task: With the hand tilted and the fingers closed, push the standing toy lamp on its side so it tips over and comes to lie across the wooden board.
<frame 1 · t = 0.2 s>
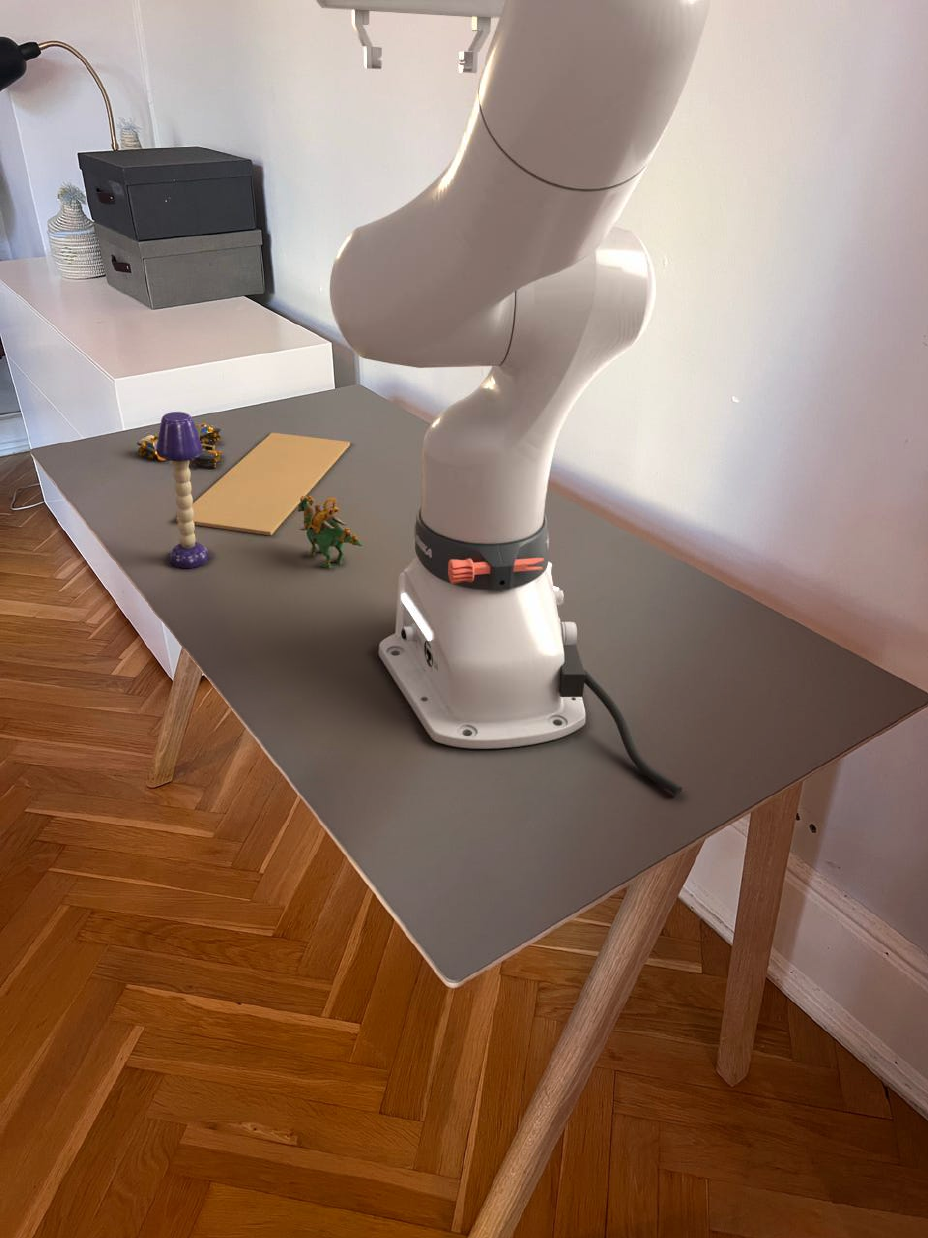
hand: (420, 70, 89), 48 cm above the table, tool pointing down, fingers open, 8 cm apart
toy set: (197, 452, 128), on the table
wooden board: (271, 480, 121), on the table
figurine: (330, 564, 102), on the table
toy lamp: (193, 561, 102), on the table
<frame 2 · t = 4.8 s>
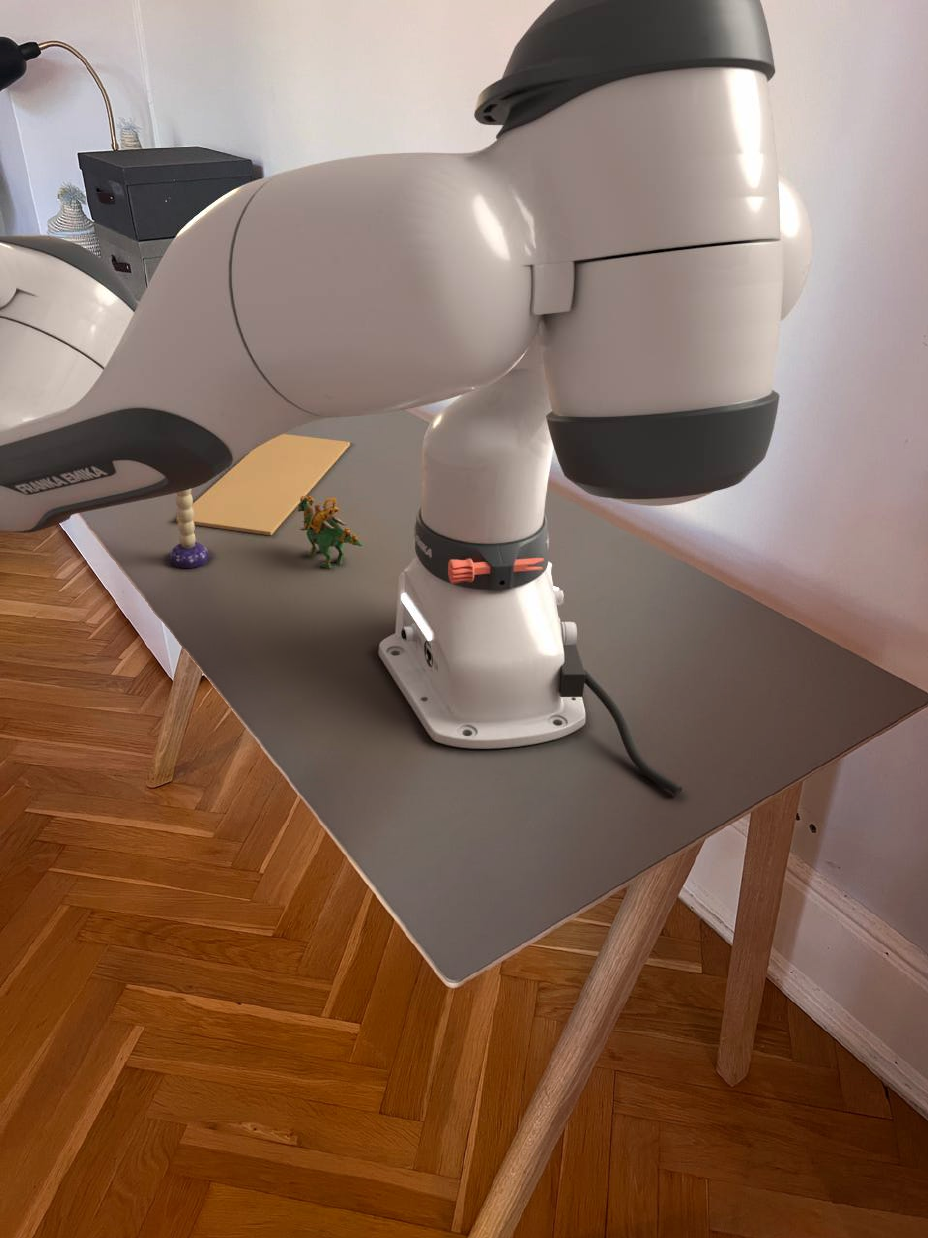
hand: (107, 452, 82), 18 cm above the table, tool tilted 45°, fingers closed
nothing on the table moved.
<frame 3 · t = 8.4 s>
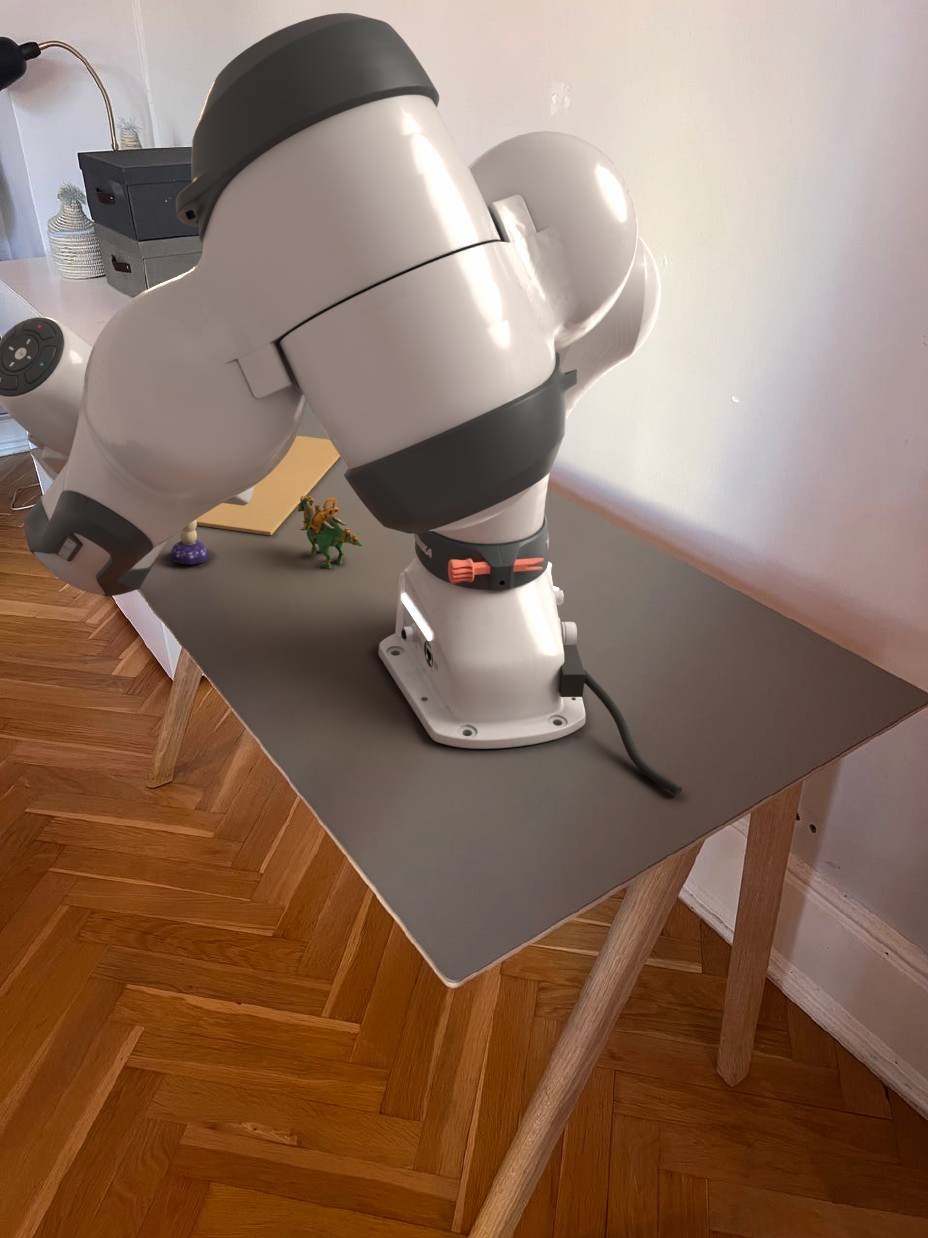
hand: (182, 496, 97), 8 cm above the table, tool tilted 45°, fingers closed
toy lamp: (192, 559, 102), on the table, touching gripper
everything else where it was.
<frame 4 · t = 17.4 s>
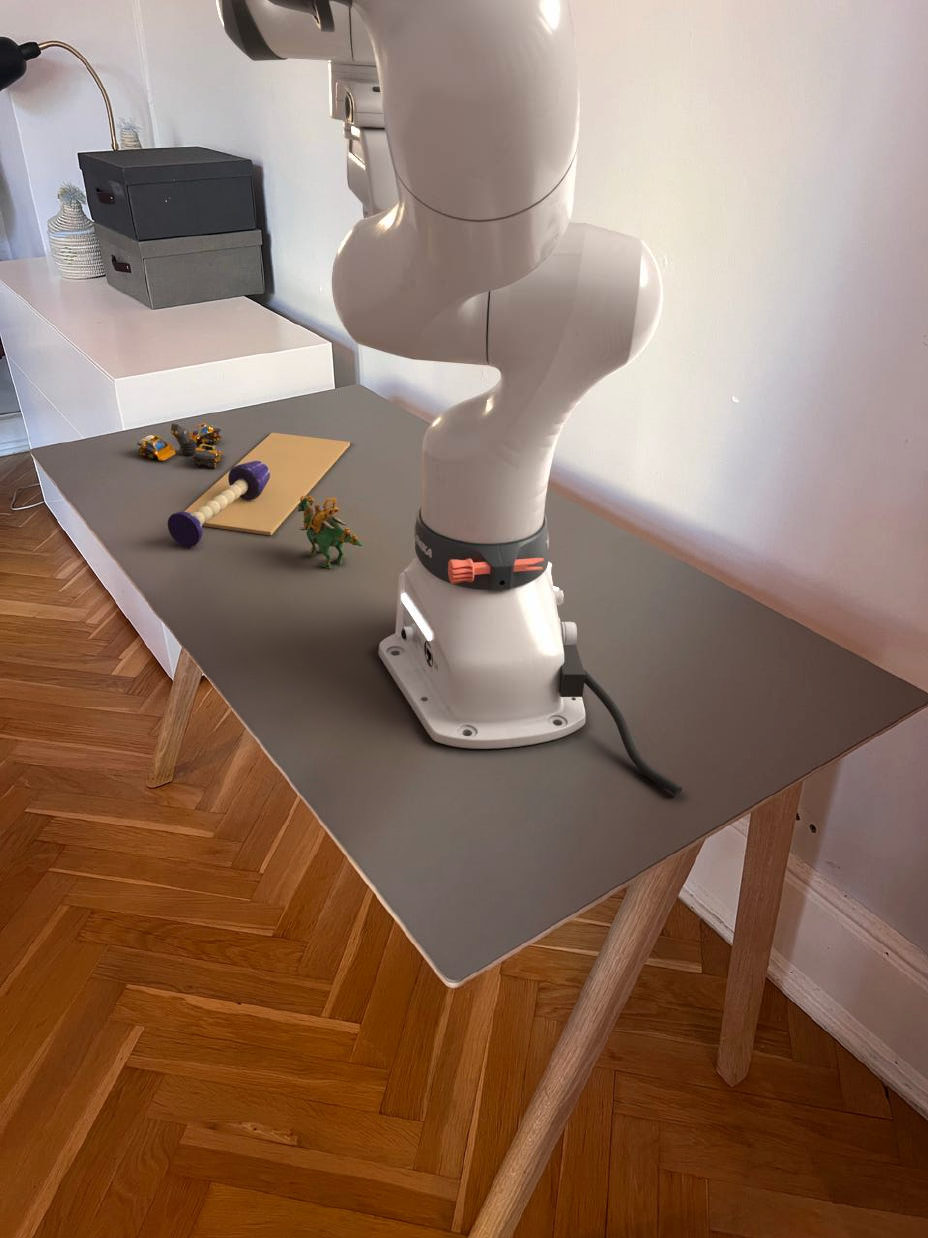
hand: (376, 250, 96), 31 cm above the table, tool pointing down, fingers closed
toy lamp: (183, 529, 102), point 2 cm above the table, touching wooden board
everything else where it was.
at the end: toy lamp tilted 88°; toy lamp touching wooden board, table; the gripper is holding nothing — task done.
